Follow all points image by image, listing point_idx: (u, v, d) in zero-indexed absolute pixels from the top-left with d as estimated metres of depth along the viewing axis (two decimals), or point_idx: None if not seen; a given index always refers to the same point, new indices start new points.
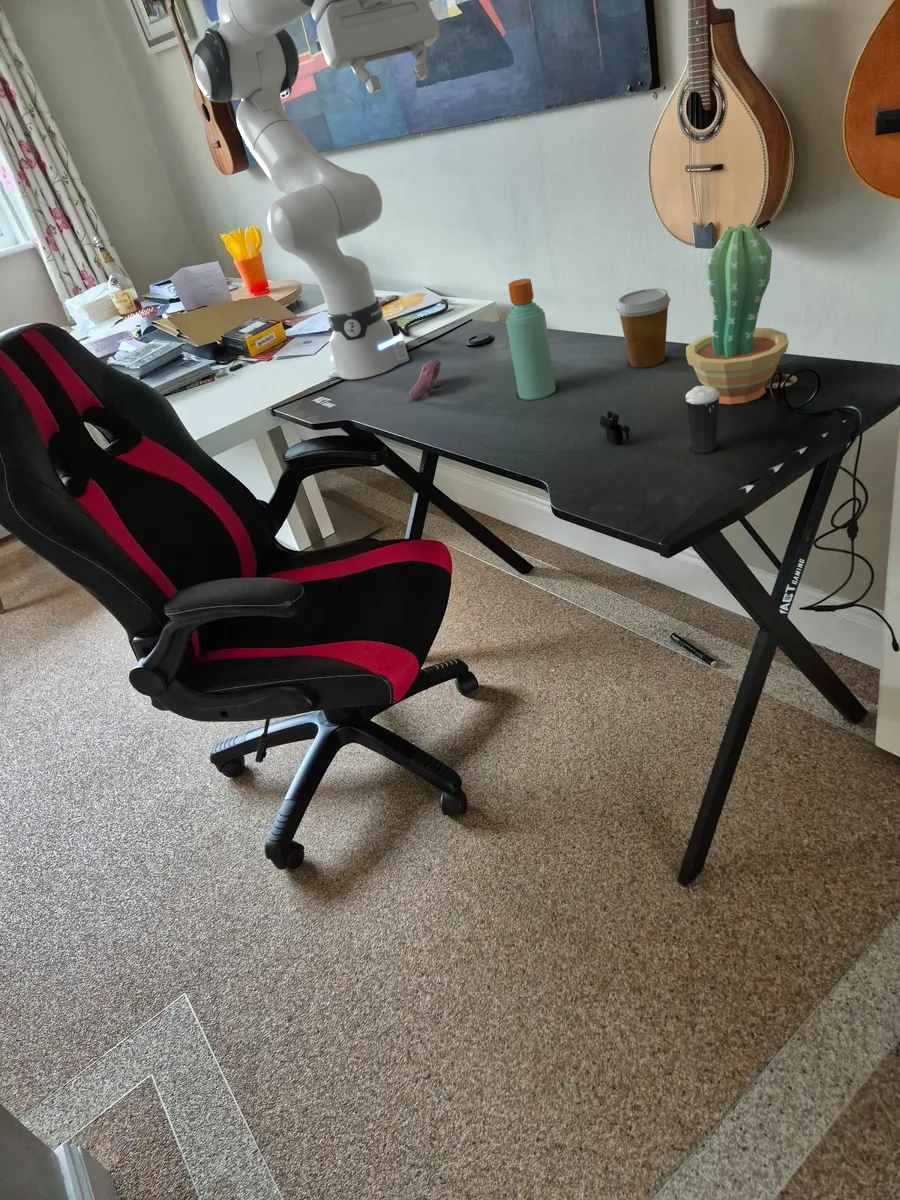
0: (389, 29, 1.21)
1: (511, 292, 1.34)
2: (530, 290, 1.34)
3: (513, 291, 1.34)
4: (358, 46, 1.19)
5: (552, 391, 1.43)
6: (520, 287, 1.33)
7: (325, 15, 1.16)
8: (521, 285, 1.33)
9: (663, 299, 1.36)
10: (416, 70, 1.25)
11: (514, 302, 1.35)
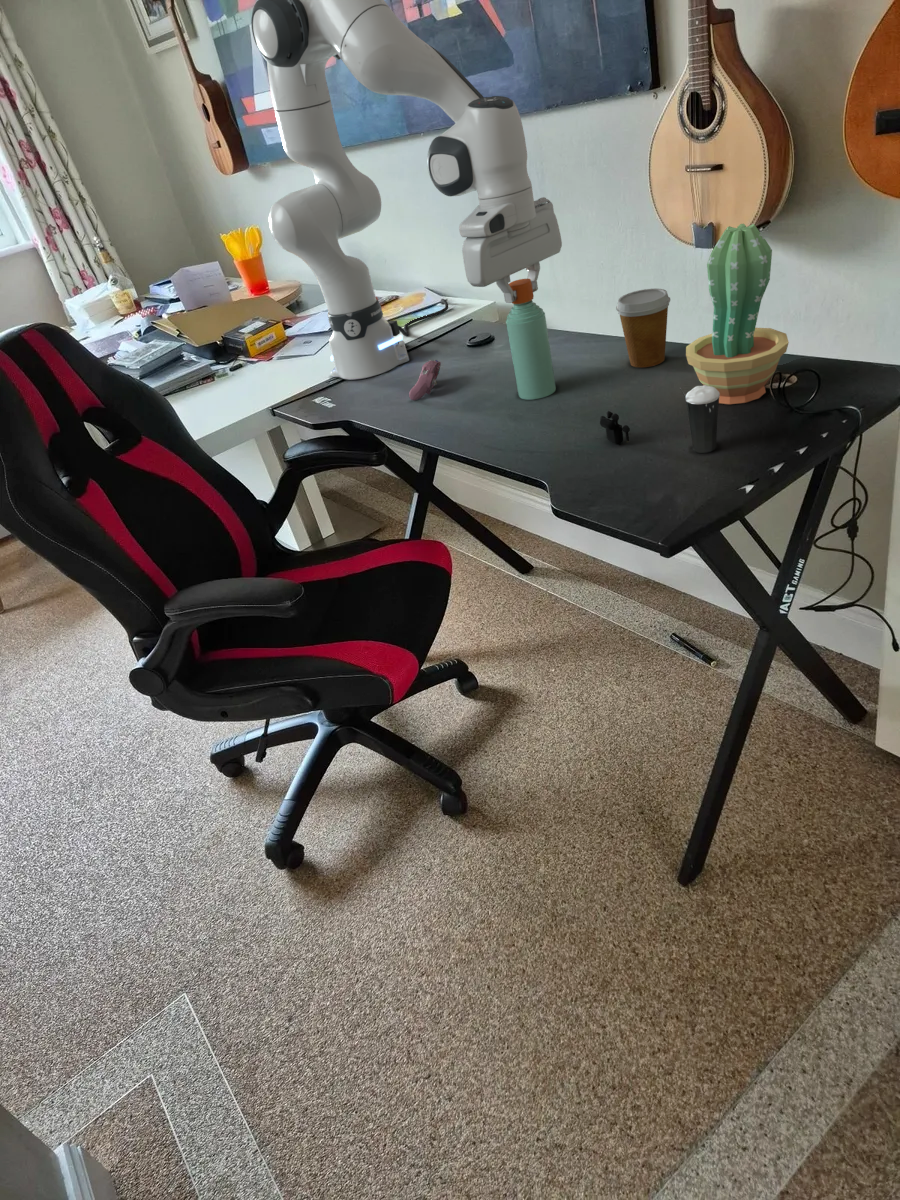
0: (524, 253, 1.31)
1: None
2: (530, 290, 1.34)
3: None
4: (499, 272, 1.29)
5: (552, 391, 1.43)
6: (520, 287, 1.33)
7: (479, 248, 1.24)
8: (521, 285, 1.33)
9: (663, 299, 1.36)
10: None
11: (514, 302, 1.35)
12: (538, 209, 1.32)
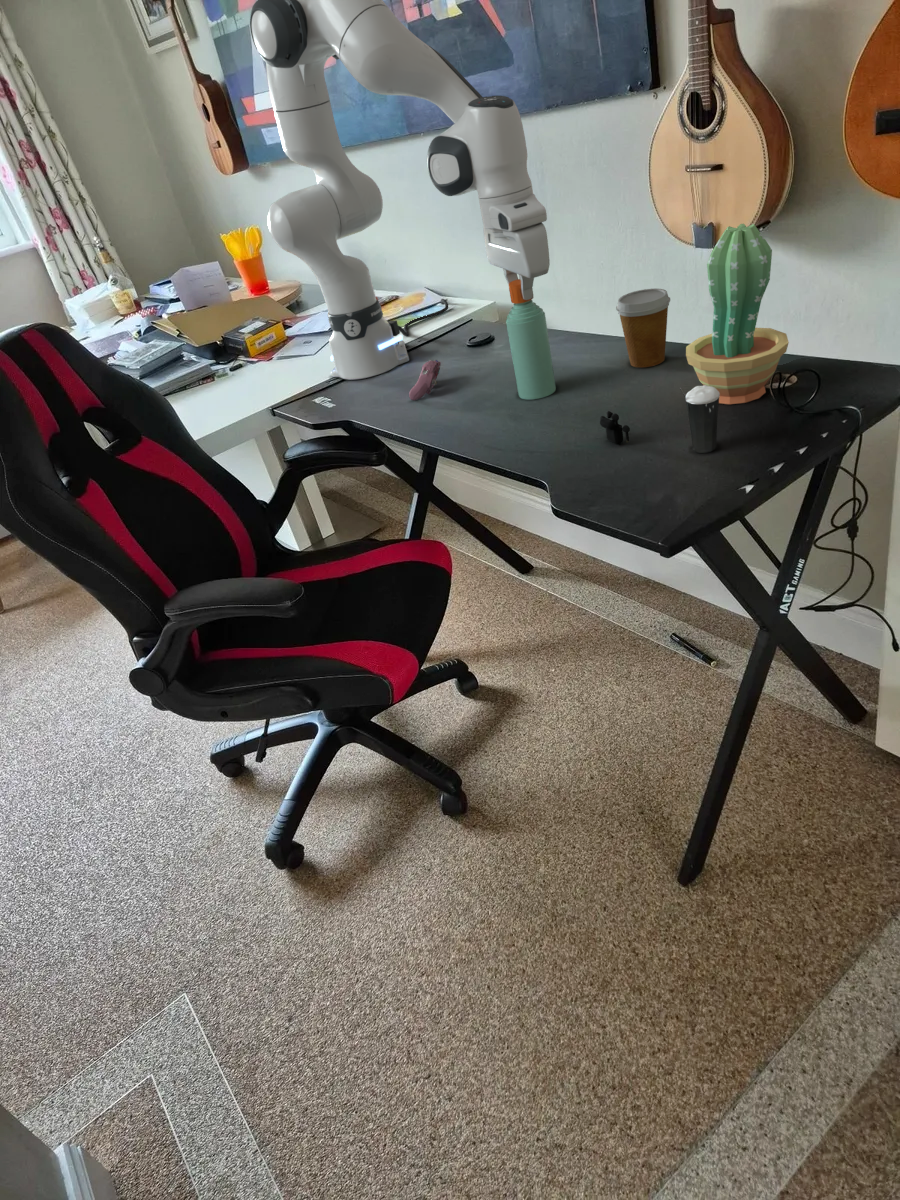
0: None
1: None
2: None
3: None
4: None
5: (552, 391, 1.43)
6: None
7: (544, 232, 1.22)
8: None
9: (663, 299, 1.36)
10: None
11: (526, 300, 1.34)
12: None
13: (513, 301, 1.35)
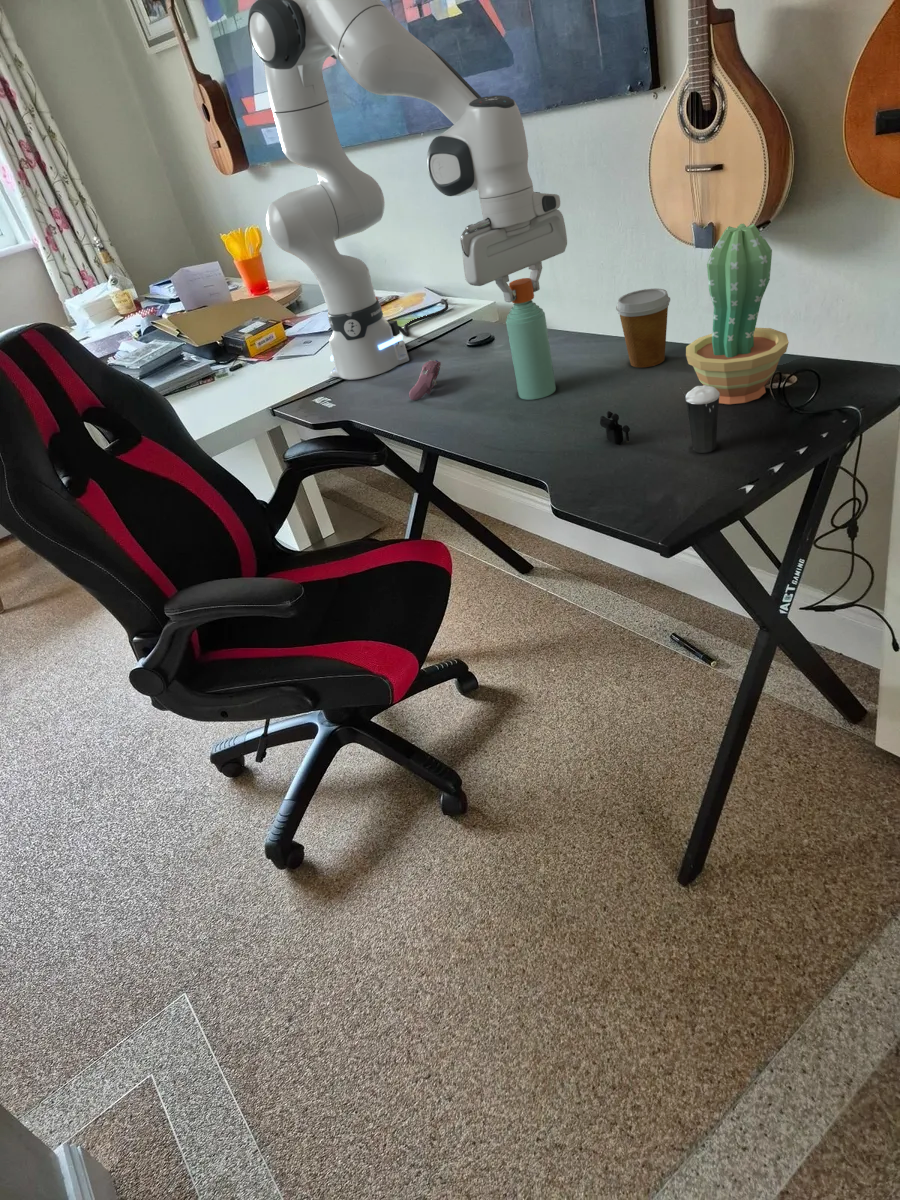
0: None
1: None
2: None
3: None
4: None
5: (552, 391, 1.43)
6: None
7: None
8: None
9: (663, 299, 1.36)
10: None
11: None
12: None
13: (531, 297, 1.35)
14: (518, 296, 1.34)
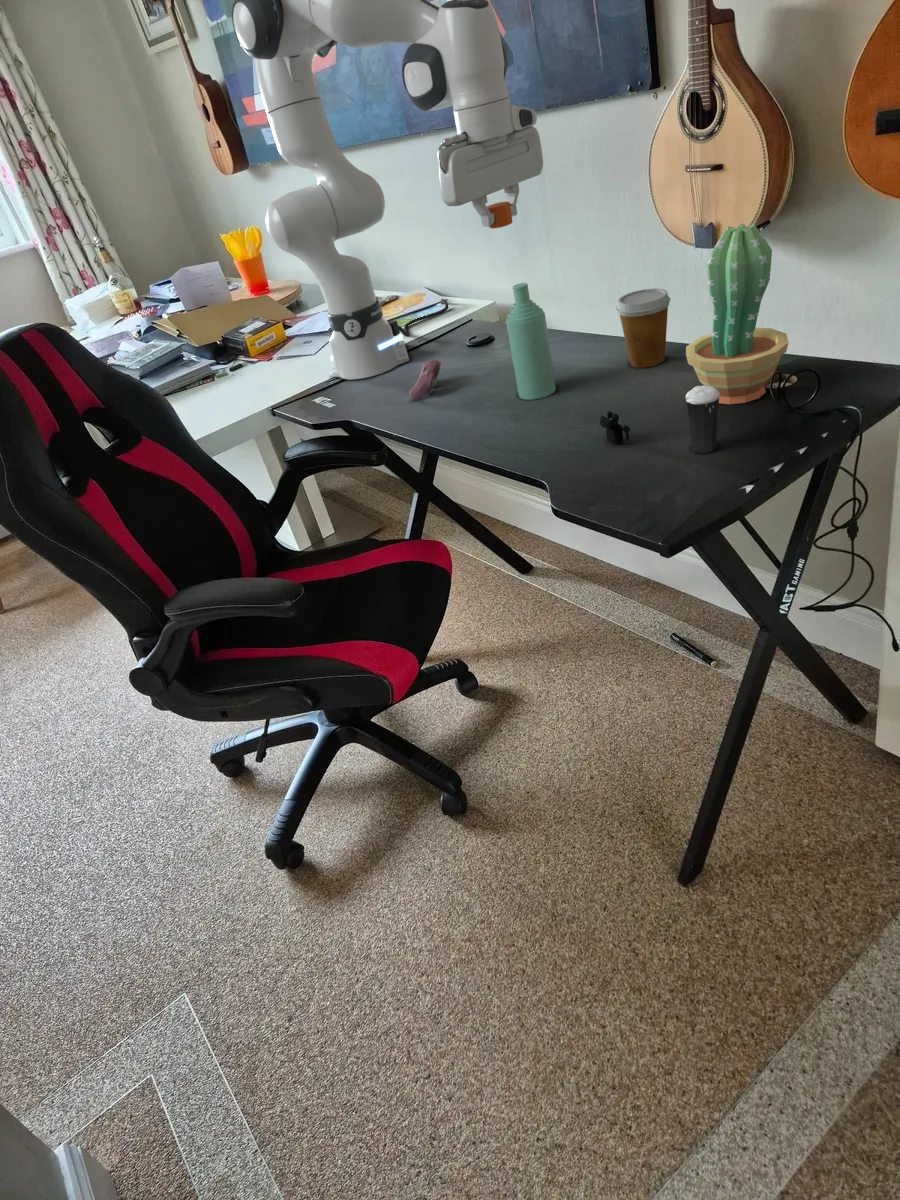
0: None
1: None
2: None
3: None
4: None
5: (552, 391, 1.43)
6: None
7: None
8: (496, 204, 1.29)
9: (663, 299, 1.36)
10: None
11: None
12: None
13: (510, 221, 1.28)
14: (497, 220, 1.27)
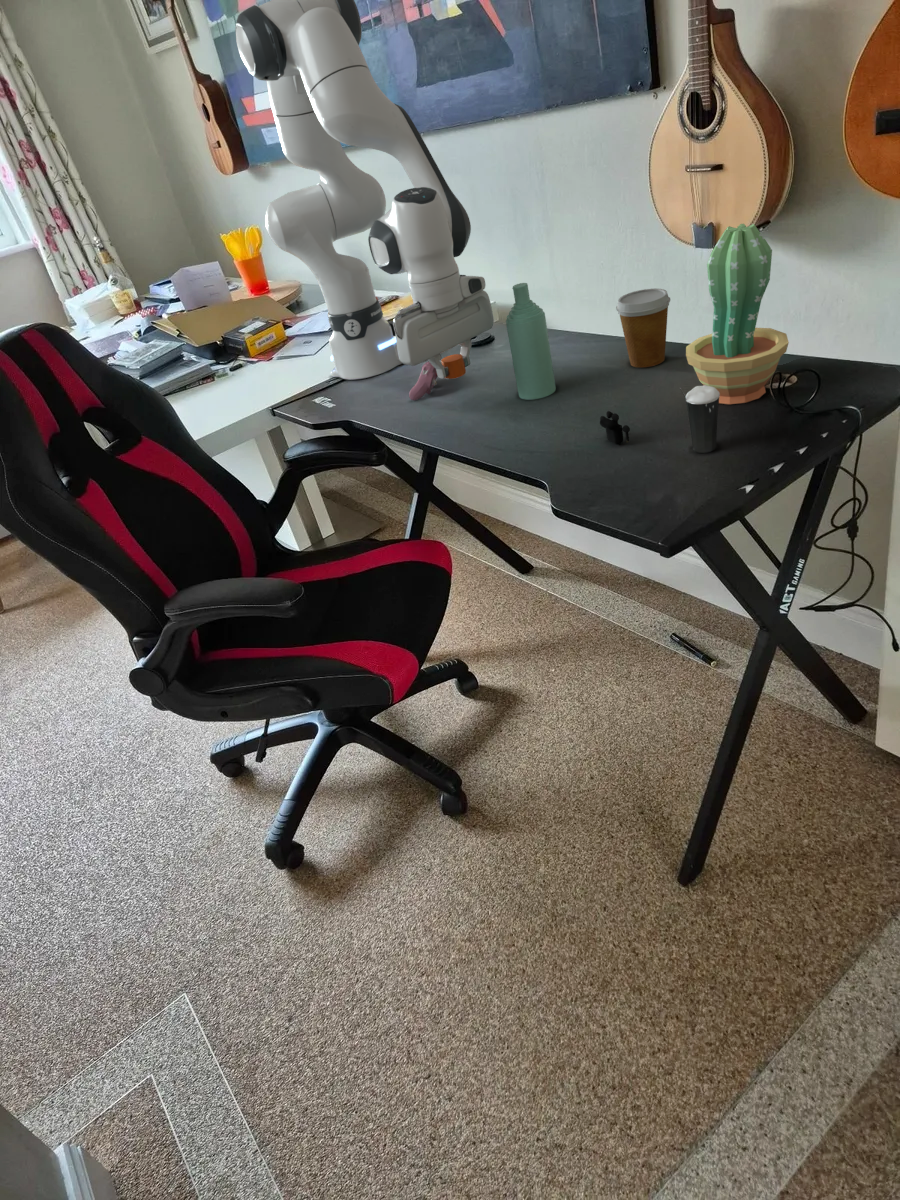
0: None
1: None
2: None
3: None
4: None
5: (552, 391, 1.43)
6: None
7: None
8: None
9: (663, 299, 1.36)
10: None
11: None
12: None
13: (463, 372, 1.40)
14: (451, 372, 1.39)
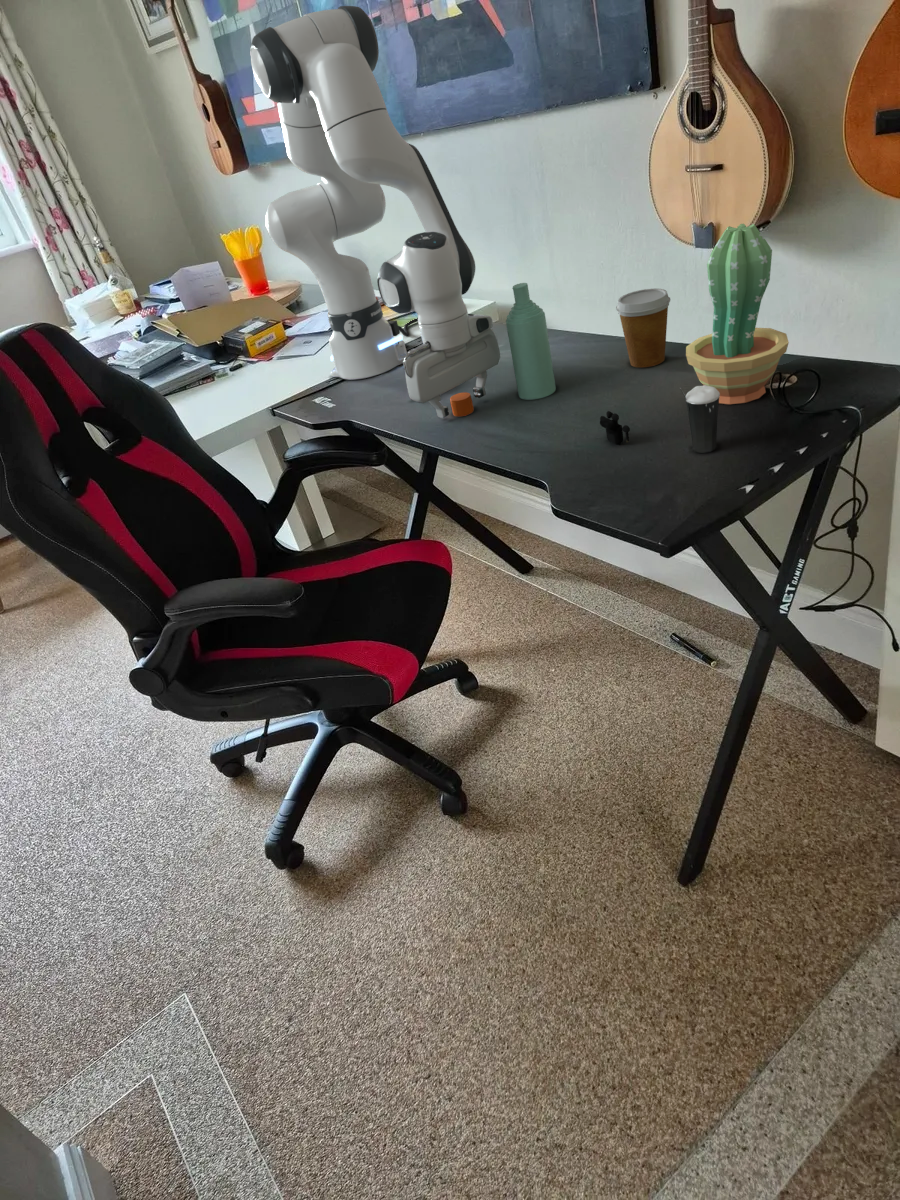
0: None
1: None
2: None
3: None
4: None
5: (552, 391, 1.43)
6: None
7: None
8: None
9: (663, 299, 1.36)
10: None
11: None
12: None
13: (471, 410, 1.44)
14: (459, 410, 1.43)
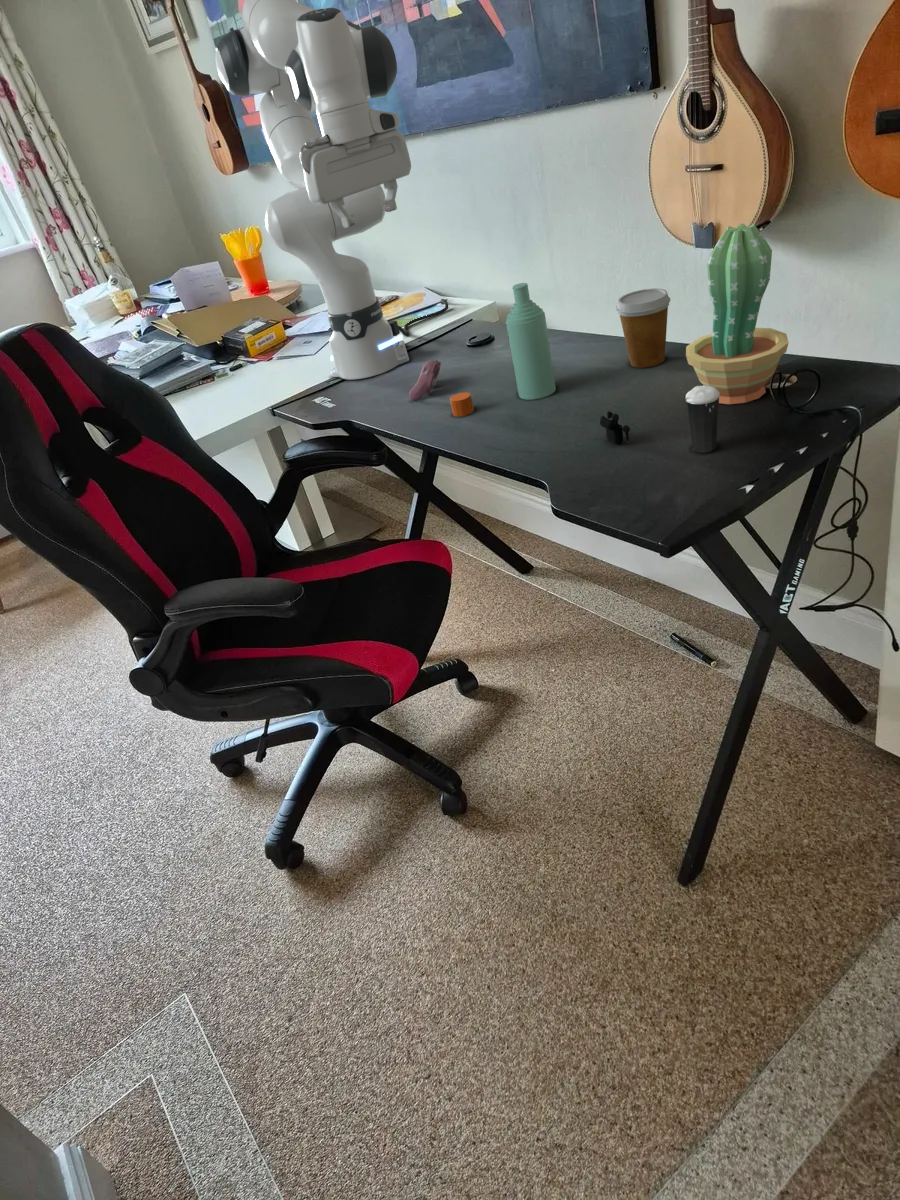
0: None
1: None
2: None
3: None
4: None
5: (552, 391, 1.43)
6: None
7: None
8: None
9: (663, 299, 1.36)
10: None
11: None
12: None
13: (471, 410, 1.44)
14: (459, 410, 1.43)
